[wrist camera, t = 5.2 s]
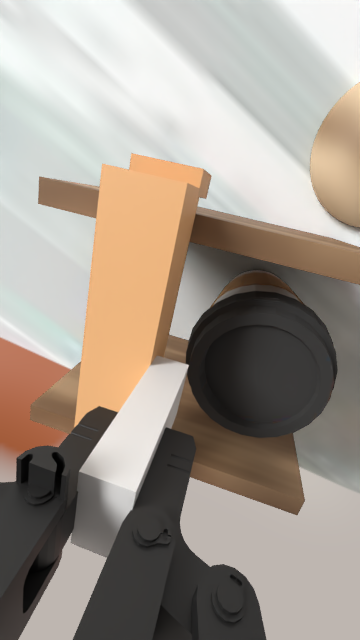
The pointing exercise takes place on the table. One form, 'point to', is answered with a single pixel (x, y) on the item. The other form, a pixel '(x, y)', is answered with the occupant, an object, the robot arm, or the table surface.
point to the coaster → (339, 159)
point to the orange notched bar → (135, 274)
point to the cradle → (210, 438)
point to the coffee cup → (261, 358)
